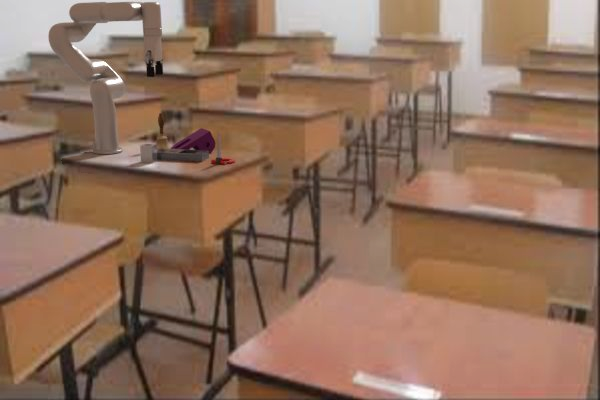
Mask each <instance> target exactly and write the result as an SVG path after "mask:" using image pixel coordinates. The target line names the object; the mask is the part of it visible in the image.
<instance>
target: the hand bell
mask: <svg viewBox="0 0 600 400" xmlns="http://www.w3.org/2000/svg"><path fill="white" fill-rule="evenodd" d="M157 123H158V126H159V136H158V137H156V143H155V144H157V149H159V148H161V149H171V147H172V146H170V143H169V141H168V137H167V136H165V134H164V132H165V131H164V127H165V125H164V124H165V118H164V115H163V113H162V112H161V113H158V118H157Z"/></svg>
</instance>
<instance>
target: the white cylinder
mask: <svg viewBox="0 0 600 400" xmlns="http://www.w3.org/2000/svg"><path fill="white" fill-rule="evenodd" d="M139 148H140V163H142V164H155V163H156V162H158V160H157V144H156V143H144V144H141V145H139Z"/></svg>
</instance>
